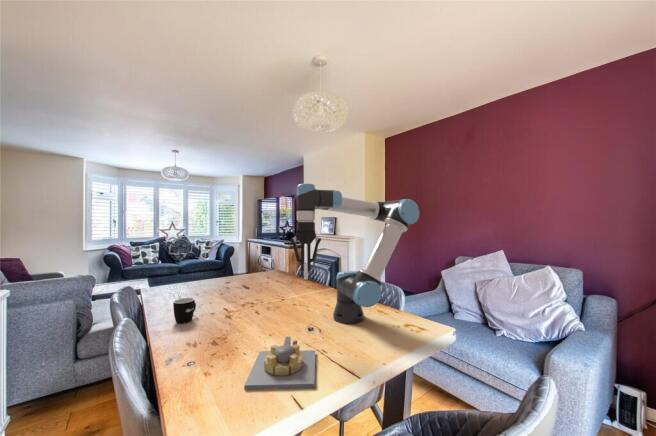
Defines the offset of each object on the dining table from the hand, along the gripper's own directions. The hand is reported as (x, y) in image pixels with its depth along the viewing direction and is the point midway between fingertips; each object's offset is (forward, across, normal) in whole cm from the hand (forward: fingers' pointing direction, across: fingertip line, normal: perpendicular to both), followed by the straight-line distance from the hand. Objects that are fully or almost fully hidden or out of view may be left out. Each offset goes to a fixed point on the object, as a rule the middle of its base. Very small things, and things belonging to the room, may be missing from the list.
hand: (305, 278), depth 110 cm
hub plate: (+24, +6, +23) cm, 34 cm away
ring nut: (+23, +6, +19) cm, 30 cm away
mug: (+25, +59, -22) cm, 68 cm away
